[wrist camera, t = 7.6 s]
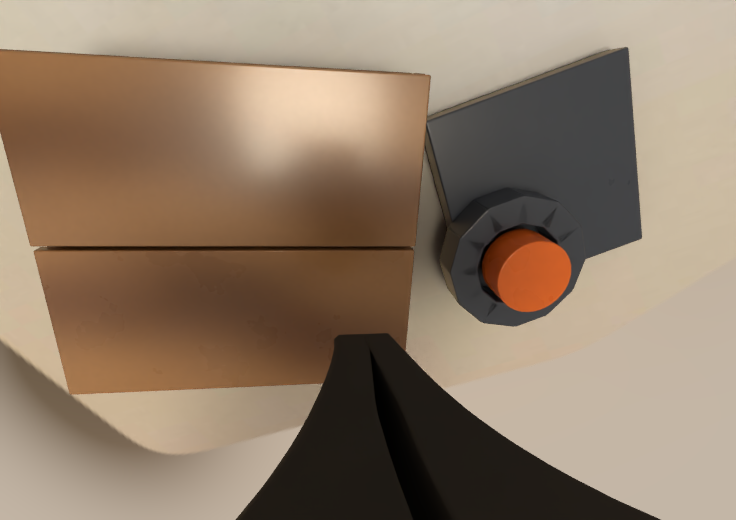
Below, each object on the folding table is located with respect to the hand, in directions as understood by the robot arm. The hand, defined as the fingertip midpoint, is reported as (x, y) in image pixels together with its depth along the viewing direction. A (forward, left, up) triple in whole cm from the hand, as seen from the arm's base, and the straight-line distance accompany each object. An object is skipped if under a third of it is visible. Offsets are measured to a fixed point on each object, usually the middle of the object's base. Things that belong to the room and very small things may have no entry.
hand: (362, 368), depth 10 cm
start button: (-3, -7, -8) cm, 11 cm away
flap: (0, +4, -5) cm, 6 cm away
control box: (-1, -10, -10) cm, 14 cm away
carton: (+3, +3, -10) cm, 11 cm away
